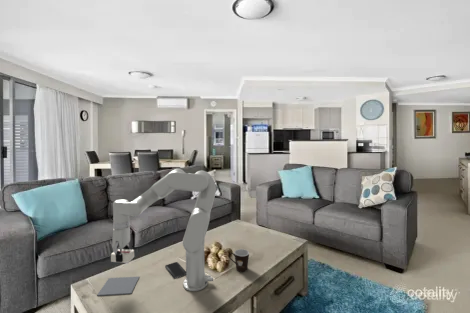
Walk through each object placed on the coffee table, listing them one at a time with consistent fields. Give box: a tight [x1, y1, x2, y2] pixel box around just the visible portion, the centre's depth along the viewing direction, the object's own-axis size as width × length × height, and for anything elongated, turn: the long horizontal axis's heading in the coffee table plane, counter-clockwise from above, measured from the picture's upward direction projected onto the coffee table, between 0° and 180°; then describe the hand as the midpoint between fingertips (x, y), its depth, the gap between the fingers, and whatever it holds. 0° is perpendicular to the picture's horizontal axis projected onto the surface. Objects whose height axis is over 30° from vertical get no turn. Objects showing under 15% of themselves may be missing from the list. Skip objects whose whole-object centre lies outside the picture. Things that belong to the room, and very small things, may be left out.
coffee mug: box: [228, 248, 250, 273], centre depth 145 cm, size 12×9×10 cm
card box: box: [110, 248, 135, 264], centre depth 127 cm, size 6×9×4 cm, turn 84°
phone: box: [164, 261, 186, 279], centre depth 143 cm, size 8×1×15 cm
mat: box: [97, 275, 140, 297], centre depth 128 cm, size 16×14×1 cm
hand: (122, 257), depth 127 cm, fingers closed on card box, 6 cm apart
